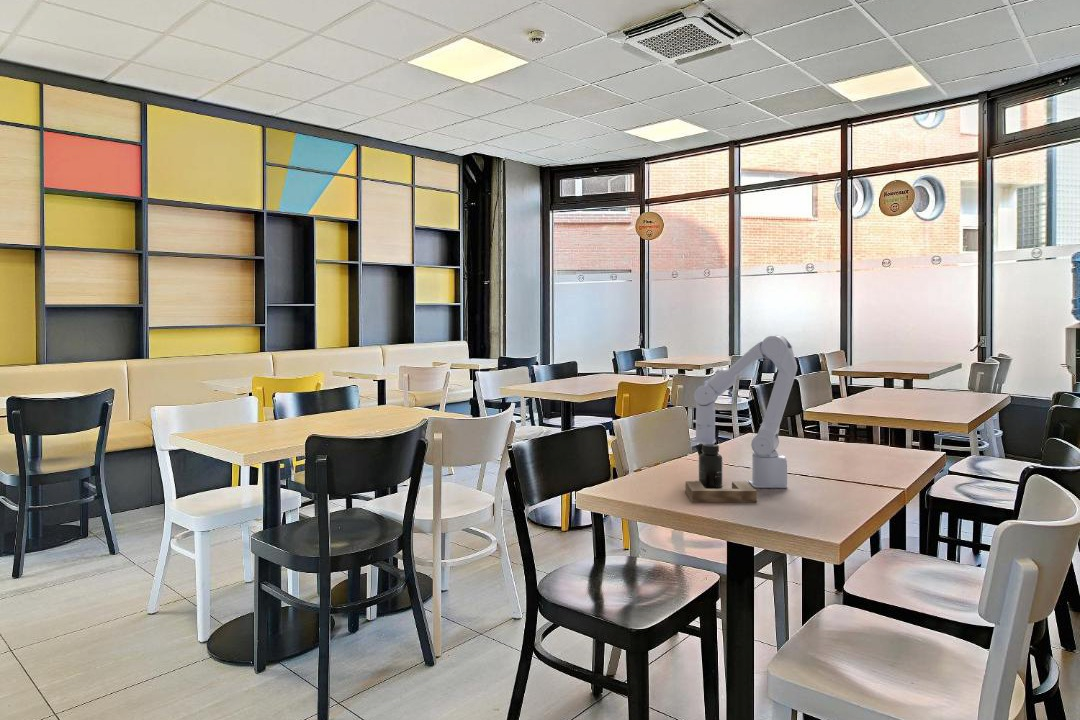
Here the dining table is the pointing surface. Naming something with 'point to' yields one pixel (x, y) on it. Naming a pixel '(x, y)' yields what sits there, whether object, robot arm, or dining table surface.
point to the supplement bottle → (710, 466)
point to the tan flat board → (721, 493)
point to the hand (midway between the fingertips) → (705, 469)
